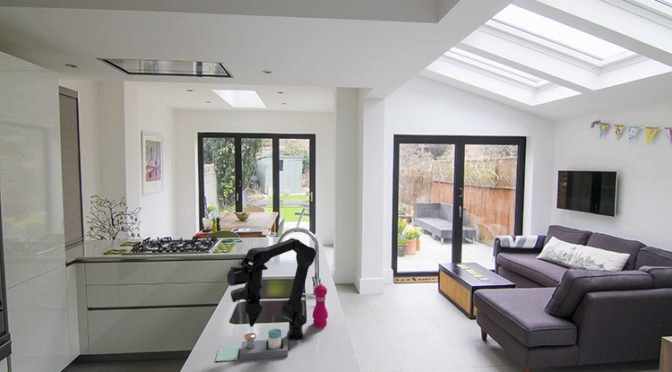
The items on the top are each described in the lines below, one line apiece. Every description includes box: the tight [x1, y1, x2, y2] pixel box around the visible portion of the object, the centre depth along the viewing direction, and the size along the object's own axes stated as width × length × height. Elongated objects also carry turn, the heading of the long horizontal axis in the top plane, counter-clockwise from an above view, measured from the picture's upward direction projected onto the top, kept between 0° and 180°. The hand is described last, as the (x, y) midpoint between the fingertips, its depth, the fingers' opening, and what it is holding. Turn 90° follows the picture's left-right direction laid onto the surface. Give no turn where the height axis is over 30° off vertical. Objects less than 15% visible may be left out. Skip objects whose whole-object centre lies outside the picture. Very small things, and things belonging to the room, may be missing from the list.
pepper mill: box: [312, 282, 329, 328], centre depth 163 cm, size 7×7×20 cm
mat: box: [214, 346, 241, 363], centre depth 137 cm, size 9×8×1 cm
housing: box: [239, 337, 289, 361], centre depth 140 cm, size 9×18×2 cm, turn 100°
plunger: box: [244, 332, 257, 349], centre depth 139 cm, size 4×4×6 cm
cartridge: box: [267, 328, 282, 350], centre depth 140 cm, size 5×5×8 cm
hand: (251, 321), depth 137 cm, fingers open, 9 cm apart
